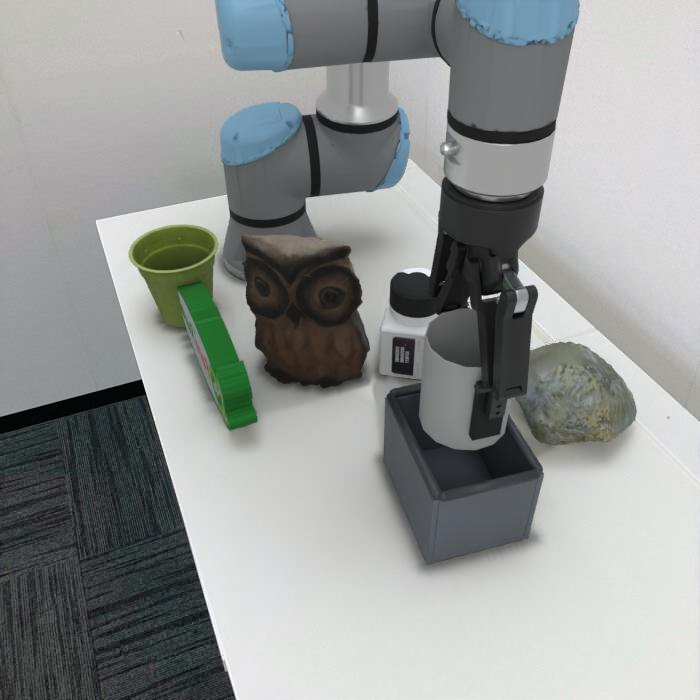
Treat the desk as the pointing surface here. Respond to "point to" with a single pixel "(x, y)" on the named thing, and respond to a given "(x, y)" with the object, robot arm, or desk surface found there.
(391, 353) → the container
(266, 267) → the owl
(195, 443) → the desk surface
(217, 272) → the desk surface
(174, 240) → the plant pot
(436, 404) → the cup
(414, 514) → the basket
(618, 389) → the decorative stone
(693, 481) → the desk surface
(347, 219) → the desk surface
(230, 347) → the sign
